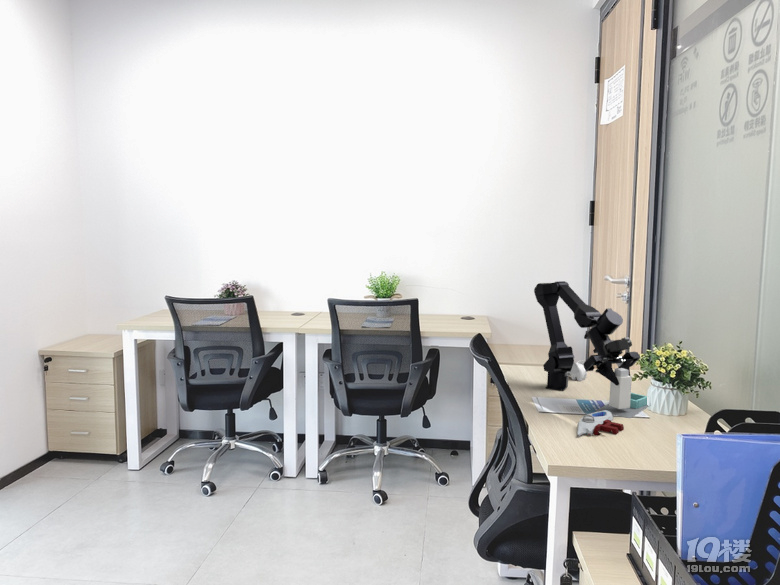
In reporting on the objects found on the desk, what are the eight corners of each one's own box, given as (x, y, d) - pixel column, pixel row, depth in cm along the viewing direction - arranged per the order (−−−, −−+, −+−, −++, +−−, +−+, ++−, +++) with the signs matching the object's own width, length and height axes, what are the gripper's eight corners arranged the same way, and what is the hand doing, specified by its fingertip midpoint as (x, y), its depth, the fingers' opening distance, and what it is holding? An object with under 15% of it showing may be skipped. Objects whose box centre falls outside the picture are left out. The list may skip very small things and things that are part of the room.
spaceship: (596, 416, 196) (597, 402, 196) (617, 421, 192) (618, 407, 192) (563, 435, 179) (564, 420, 178) (585, 440, 175) (586, 425, 174)
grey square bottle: (609, 405, 199) (611, 368, 198) (620, 403, 201) (622, 367, 200) (618, 409, 195) (621, 371, 194) (629, 407, 197) (632, 370, 195)
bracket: (607, 418, 186) (593, 426, 178) (627, 422, 182) (613, 431, 174) (607, 427, 186) (593, 436, 178) (626, 432, 182) (612, 440, 175)
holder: (612, 402, 206) (613, 395, 206) (625, 398, 212) (626, 391, 211) (636, 408, 200) (636, 401, 200) (648, 404, 206) (649, 396, 205)
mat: (630, 421, 191) (630, 418, 191) (595, 413, 198) (595, 410, 198) (653, 406, 207) (653, 403, 207) (620, 399, 214) (620, 396, 214)
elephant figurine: (568, 375, 247) (569, 357, 246) (591, 379, 241) (592, 361, 240) (559, 378, 241) (560, 360, 241) (583, 383, 235) (584, 364, 234)
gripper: (591, 330, 195) (613, 373, 187) (638, 327, 202) (662, 368, 193) (574, 349, 204) (594, 391, 195) (619, 346, 210) (641, 386, 202)
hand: (624, 384), depth 196 cm, fingers closed on grey square bottle, 4 cm apart
